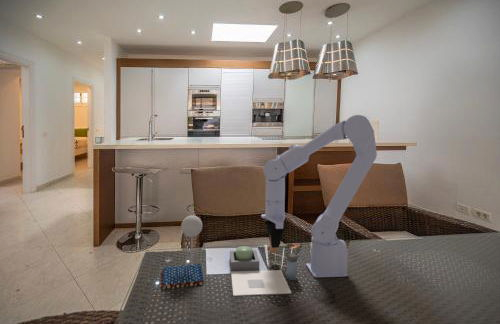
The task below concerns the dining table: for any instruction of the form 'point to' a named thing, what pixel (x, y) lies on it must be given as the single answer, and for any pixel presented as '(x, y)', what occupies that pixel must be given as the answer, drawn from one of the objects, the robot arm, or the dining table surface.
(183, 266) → the woven mat
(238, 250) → the button
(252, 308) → the dining table surface
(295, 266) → the marker slate
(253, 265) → the button housing
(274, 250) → the marker terracotta
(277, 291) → the paper
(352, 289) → the dining table surface
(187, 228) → the lollipop
